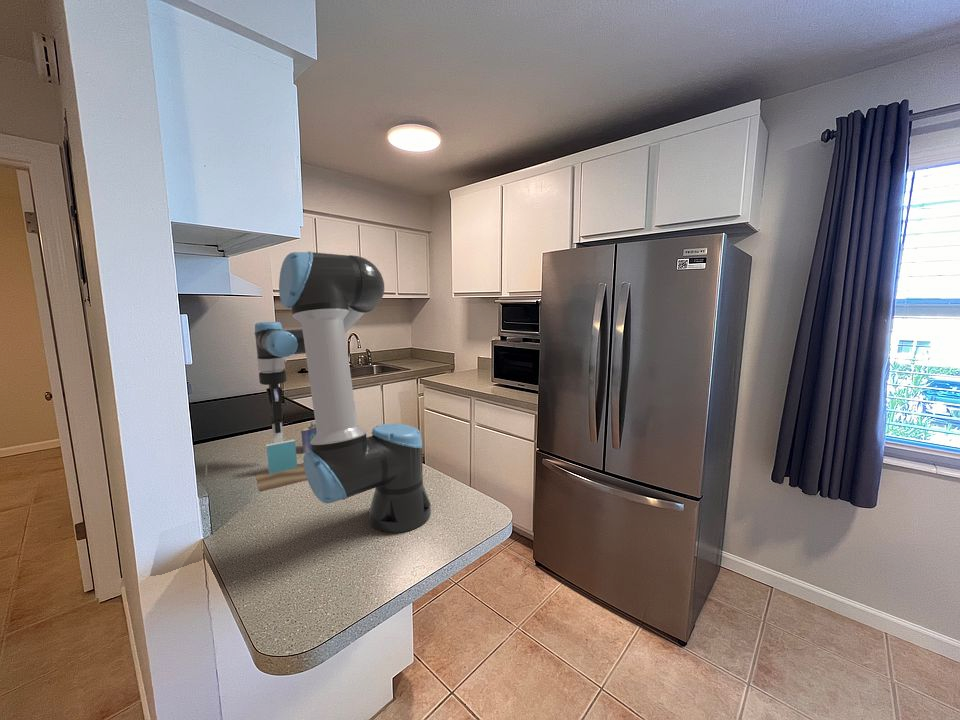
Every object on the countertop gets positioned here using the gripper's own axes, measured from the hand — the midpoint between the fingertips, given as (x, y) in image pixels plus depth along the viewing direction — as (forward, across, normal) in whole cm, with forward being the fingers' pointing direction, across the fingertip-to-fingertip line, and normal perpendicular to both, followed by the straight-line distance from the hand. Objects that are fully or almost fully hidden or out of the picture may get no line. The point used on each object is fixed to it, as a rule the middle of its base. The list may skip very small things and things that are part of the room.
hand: (278, 441), depth 126 cm
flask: (+9, +7, -12) cm, 16 cm away
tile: (+8, -6, 0) cm, 10 cm away
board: (+8, -11, 0) cm, 14 cm away
